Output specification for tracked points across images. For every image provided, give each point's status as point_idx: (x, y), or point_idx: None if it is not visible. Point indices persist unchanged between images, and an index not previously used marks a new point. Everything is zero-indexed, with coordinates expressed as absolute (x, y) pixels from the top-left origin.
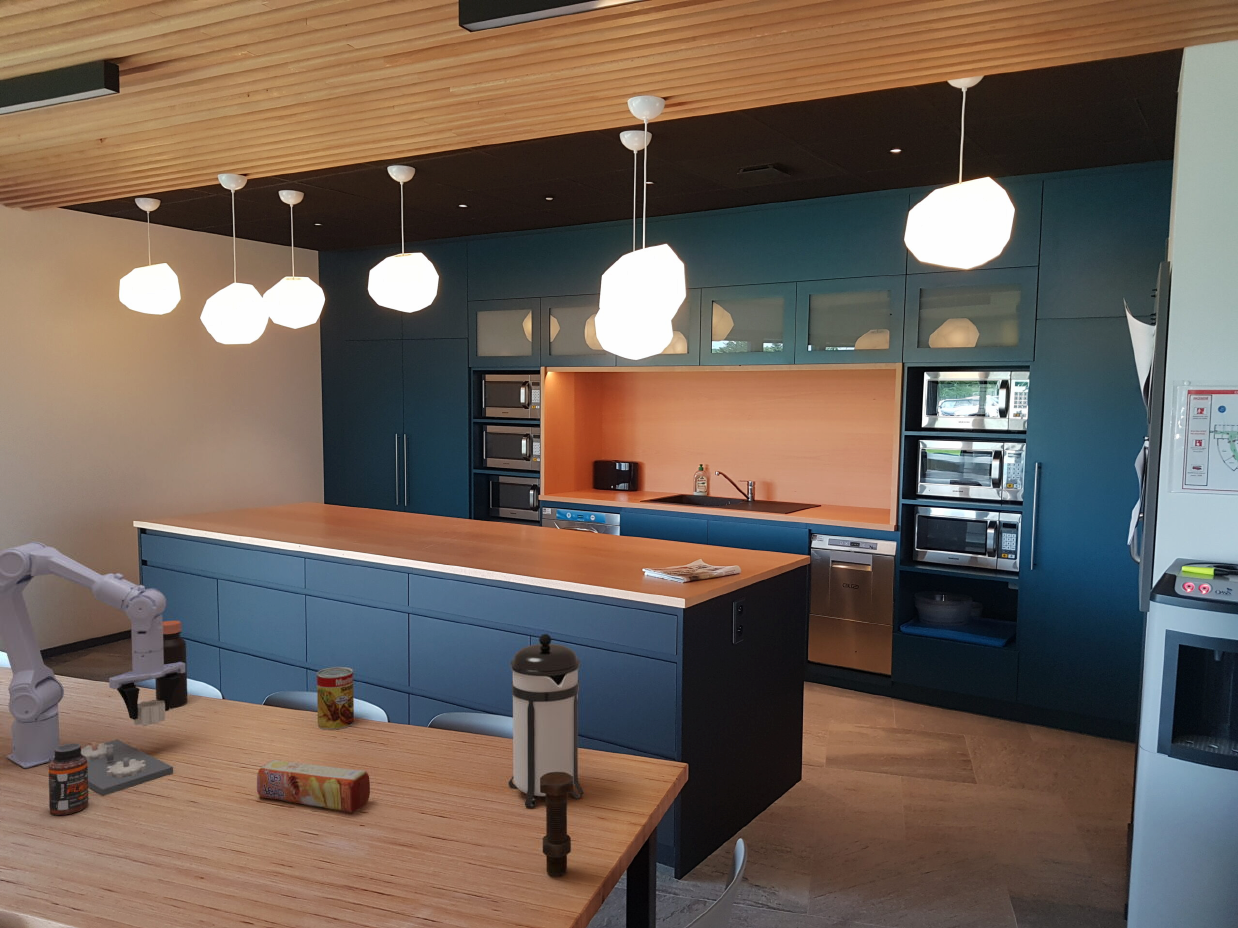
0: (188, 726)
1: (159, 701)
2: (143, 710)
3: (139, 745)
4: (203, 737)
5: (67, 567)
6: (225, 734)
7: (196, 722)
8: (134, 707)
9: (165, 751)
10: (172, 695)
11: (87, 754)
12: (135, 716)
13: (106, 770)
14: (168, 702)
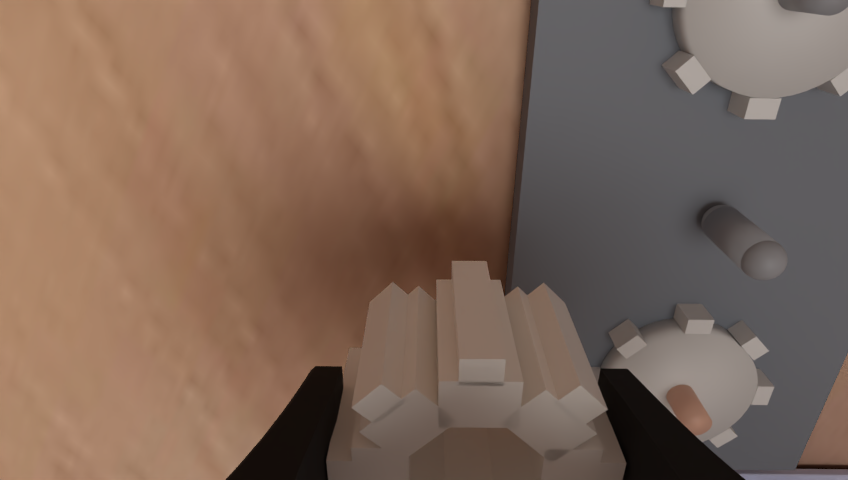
0: (159, 422)
1: (368, 477)
2: (593, 387)
3: None
4: (146, 236)
5: None
6: (23, 180)
7: (111, 439)
8: (692, 446)
9: (387, 203)
10: (242, 463)
11: (744, 362)
12: (635, 380)
13: (813, 111)
14: (307, 411)
